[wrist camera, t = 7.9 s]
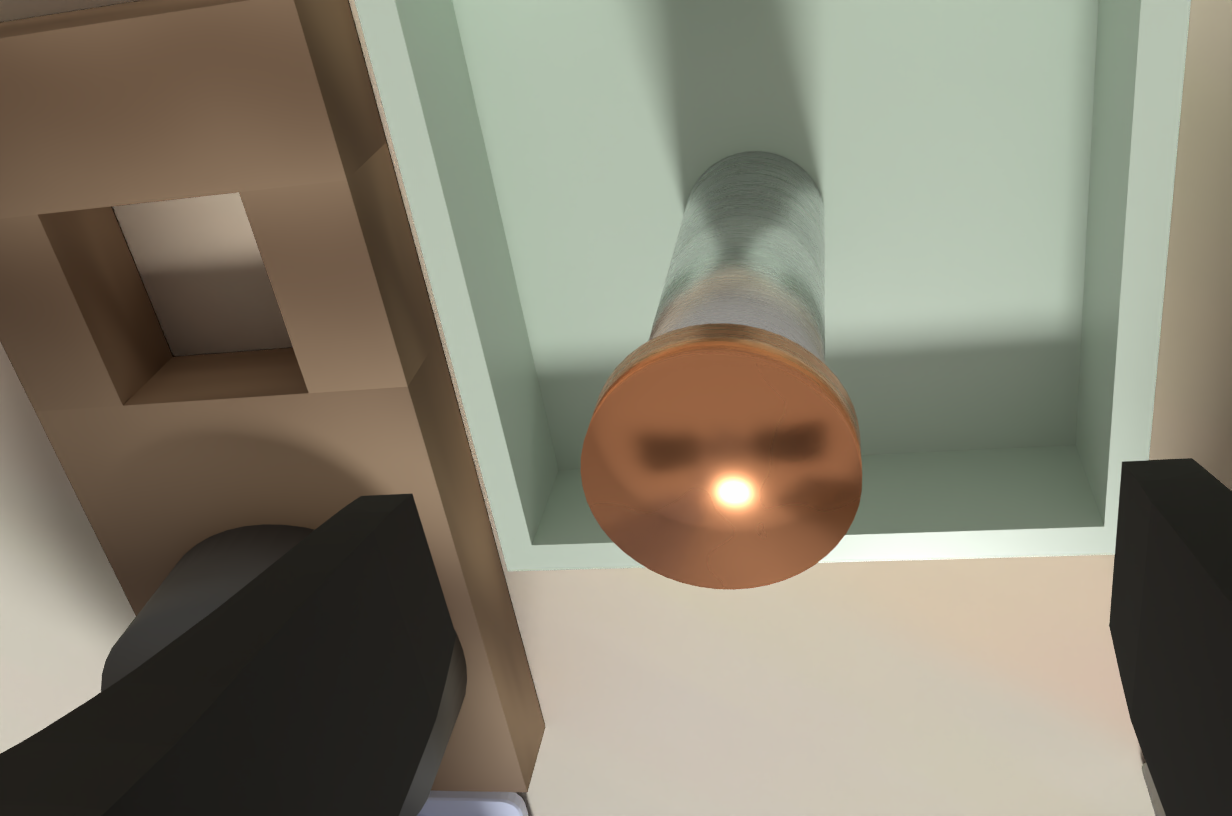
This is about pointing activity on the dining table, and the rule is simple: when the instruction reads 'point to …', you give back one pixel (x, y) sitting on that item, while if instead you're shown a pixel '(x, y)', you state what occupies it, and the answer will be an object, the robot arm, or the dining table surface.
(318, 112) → the tensioner board
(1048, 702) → the dining table surface
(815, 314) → the lock pin
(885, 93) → the tray
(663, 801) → the dining table surface
